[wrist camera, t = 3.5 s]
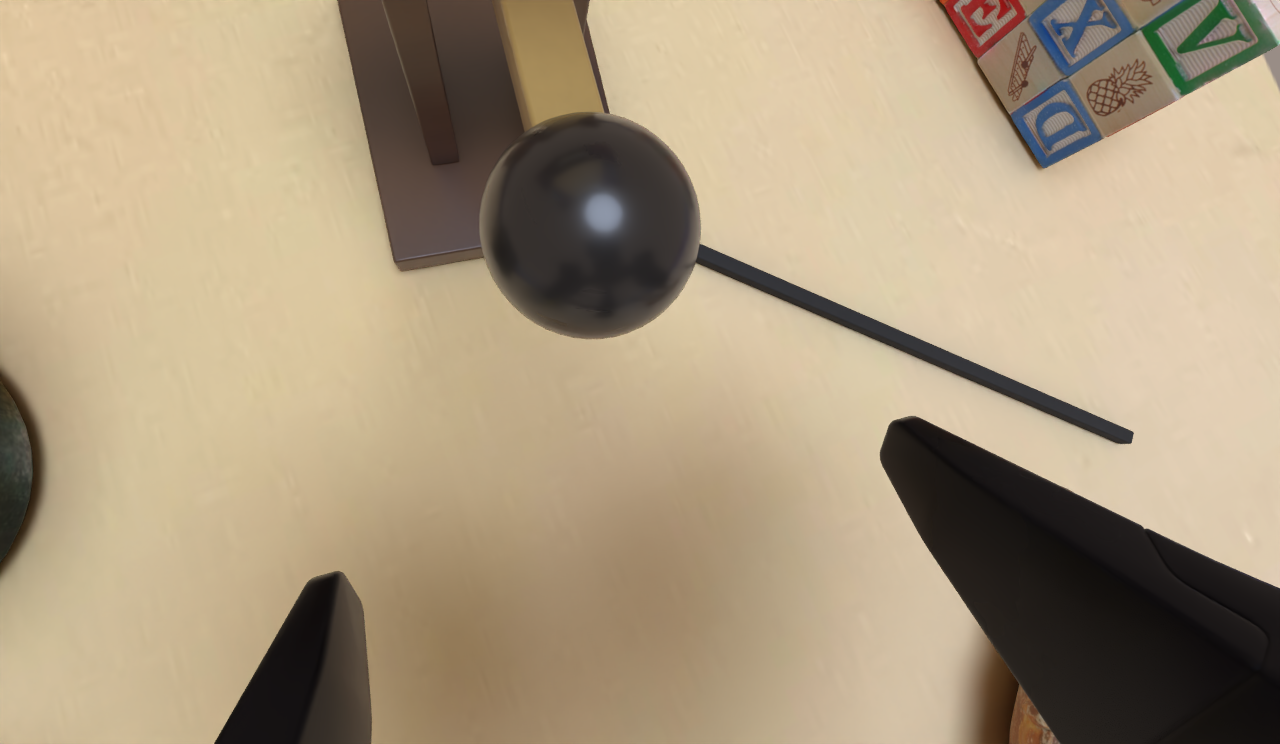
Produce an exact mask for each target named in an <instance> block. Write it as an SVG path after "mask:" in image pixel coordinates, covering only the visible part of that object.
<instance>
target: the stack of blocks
mask: <svg viewBox="0 0 1280 744" xmlns="http://www.w3.org/2000/svg"><path fill="white" fill-rule="evenodd" d="M940 2H941V3H942V4H943V5H944V6H945V8H946V11H947V12H948V14H949V15H950V17H951V19H952V20H953V22H954V24H955V25H956V27H957V29H958V30H959V32H960V33H961V35H962V37H963V38H964V40H965V41H966V43H967V45H968V46H969V48H970V49H971V51H972V53H973V54H974V55H975V56H976V57H977V58H978V64H979V66H980V68H981V69H982V71H983V72H984V74H985V76H986V77H987V79H988V80H989V82H990V84H991V85H992V87H993V89H994V90H995V92H996V94H997V95H998V97H999V98H1000V100H1001V102H1002V103H1003V105H1004V107H1005V108H1006V110H1007V111H1008V113H1009V114H1010V115H1011V117H1012V120H1013V122H1014V123H1015V125H1016V127H1017V128H1018V130H1019V131H1020V133H1021V135H1022V136H1023V138H1024V140H1025V141H1026V143H1027V144H1028V146H1029V147H1030V149H1031V150H1032V152H1033V153H1034V155H1035V157H1036V159H1037V160H1038V162H1039V163H1040V165H1041V166H1042V167H1043V168H1047V167H1049V166H1051V165H1053V164H1055V163H1057V162H1059V161H1061V160H1063V159H1065V158H1067V157H1069V156H1070V155H1072V154H1074V153H1076V152H1078V151H1080V150H1082V149H1084V148H1086V147H1088V146H1090V145H1092V144H1094V143H1096V142H1098V141H1100V140H1102V139H1103V138H1105V137H1109V136H1111V135H1113V134H1114V133H1116V132H1118V131H1120V130H1122V129H1124V128H1126V127H1128V126H1130V125H1132V124H1134V123H1136V122H1138V121H1140V120H1141V119H1143V118H1145V117H1147V116H1149V115H1151V114H1153V113H1155V112H1157V111H1158V110H1160V109H1162V108H1164V107H1166V106H1168V105H1170V104H1172V103H1173V102H1175V101H1177V100H1179V99H1180V98H1182V97H1183V96H1185V95H1187V94H1189V93H1191V92H1193V91H1195V90H1197V89H1199V88H1201V87H1202V86H1204V85H1206V84H1208V83H1210V82H1212V81H1214V80H1215V79H1217V78H1219V77H1221V76H1223V75H1225V74H1227V73H1228V72H1230V71H1232V70H1234V69H1236V68H1238V67H1240V66H1241V65H1243V64H1245V63H1247V62H1249V61H1251V60H1253V59H1254V58H1256V57H1258V56H1260V55H1262V54H1264V53H1266V52H1267V51H1269V50H1271V49H1273V48H1275V47H1276V46H1278V45H1280V0H940Z"/></svg>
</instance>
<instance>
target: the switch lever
mask: <svg viewBox="0 0 1280 744" xmlns="http://www.w3.org/2000/svg"><path fill="white" fill-rule="evenodd" d="M492 4H493V8H494V12H495V16H496V20H497V24H498V28H499V32H500V36H501V40H502V44H503V47H504V51H505V55H506V59H507V63H508V67H509V71H510V75H511V79H512V83H513V87H514V91H515V95H516V99H517V103H518V107H519V111H520V115H521V119H522V123H523V127H524V131H525V133H523V134H522V135H521V136H520V137H518V138H517V139H516V140H515V141H514V142H512V143H511V145H510V146H509V147H508V148H507V149H506V150H505V151H504V152H503V154H502V155H501V157H500V158H499V160H498V161H497V163H496V164H495V166H494V168H493V169H492V171H491V173H490V175H489V178H488V180H487V182H486V186H485V189H484V192H483V196H482V200H481V205H480V213H479V233H480V241H481V248H482V251H483V255H484V258H485V261H486V264H487V267H488V269H489V271H490V273H491V276H492V278H493V280H494V282H495V283H496V285H497V286H498V288H499V289H500V291H501V292H502V294H503V295H504V296H505V297H506V298H507V299H508V301H509V302H510V303H511V304H512V305H513V306H514V307H515V308H516V309H517V310H518V311H519V312H520V313H522V314H523V315H524V316H525V317H527V318H528V319H530V320H531V321H532V322H534V323H536V324H537V325H539V326H541V327H543V328H545V329H547V330H550V331H552V332H555V333H558V334H560V335H565V336H569V337H573V338H581V339H603V338H610V337H616V336H619V335H623V334H626V333H629V332H631V331H633V330H636V329H638V328H640V327H643V326H644V325H646V324H648V323H649V322H651V321H653V320H654V319H655V318H657V317H658V316H659V315H660V314H662V313H663V312H664V311H665V310H666V309H667V308H668V307H669V306H670V305H671V304H672V303H673V302H674V300H675V299H676V298H677V297H678V296H679V294H680V293H681V291H682V290H683V288H684V287H685V285H686V283H687V281H688V279H689V277H690V275H691V273H692V271H693V268H694V265H695V262H696V259H697V255H698V250H699V244H700V237H701V220H700V210H699V204H698V200H697V196H696V192H695V190H694V187H693V184H692V182H691V180H690V177H689V176H688V174H687V172H686V170H685V168H684V166H683V164H682V163H681V162H680V160H679V159H678V157H677V156H676V155H675V153H674V152H673V151H672V150H671V149H670V148H669V147H668V146H667V145H666V144H665V143H664V142H663V141H662V140H661V139H660V138H658V137H657V136H656V135H655V134H653V133H652V132H650V131H649V130H648V129H646V128H644V127H643V126H641V125H639V124H637V123H635V122H633V121H631V120H628V119H626V118H623V117H620V116H616V115H613V114H607V113H604V109H603V106H602V102H601V99H600V95H599V91H598V88H597V84H596V81H595V77H594V74H593V70H592V66H591V63H590V59H589V56H588V52H587V48H586V45H585V41H584V38H583V34H582V30H581V27H580V23H579V20H578V16H577V12H576V9H575V5H574V2H573V0H492Z"/></svg>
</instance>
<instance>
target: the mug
mask: <svg viewBox="0 0 1280 744" xmlns="http://www.w3.org/2000/svg"><path fill="white" fill-rule="evenodd" d="M32 478H33V465H32V449H31V445H30V441H29V437H28V433H27V429H26V426H25V424H24V421H23V419H22V417H21V415H20V413H19V410H18V408H17V406H16V404H15V402H14V400H13V399H12V397H11V396H10V394H9V393H8V391H7V390H6V388H5V387H4V385H3V384H2V382H1V381H0V563H1V561H2V560H3V558H4V557H5V555H6V554H7V553H8V551H9V549H10V547H11V545H12V543H13V541H14V539H15V537H16V535H17V533H18V531H19V529H20V527H21V525H22V523H23V520H24V516H25V513H26V510H27V506H28V503H29V500H30V494H31V486H32Z"/></svg>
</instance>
